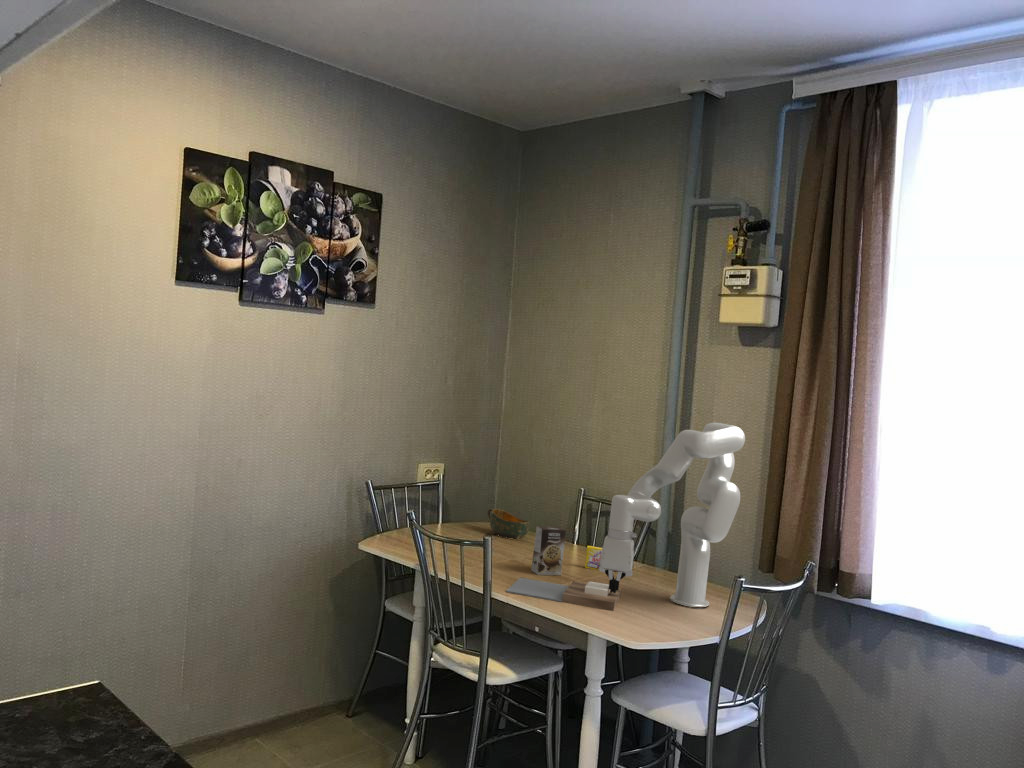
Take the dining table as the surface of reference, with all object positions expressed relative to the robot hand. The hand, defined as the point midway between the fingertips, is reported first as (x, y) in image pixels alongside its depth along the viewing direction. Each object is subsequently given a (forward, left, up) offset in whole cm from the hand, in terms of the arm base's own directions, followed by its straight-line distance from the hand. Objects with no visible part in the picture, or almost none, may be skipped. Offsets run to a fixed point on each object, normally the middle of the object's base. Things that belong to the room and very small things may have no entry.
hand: (613, 591), depth 264 cm
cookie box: (-24, -26, -4) cm, 36 cm away
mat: (0, -23, -4) cm, 24 cm away
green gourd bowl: (-76, -54, -4) cm, 94 cm away
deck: (0, -6, -4) cm, 7 cm away
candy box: (-42, -7, -4) cm, 43 cm away
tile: (0, -5, -1) cm, 5 cm away
